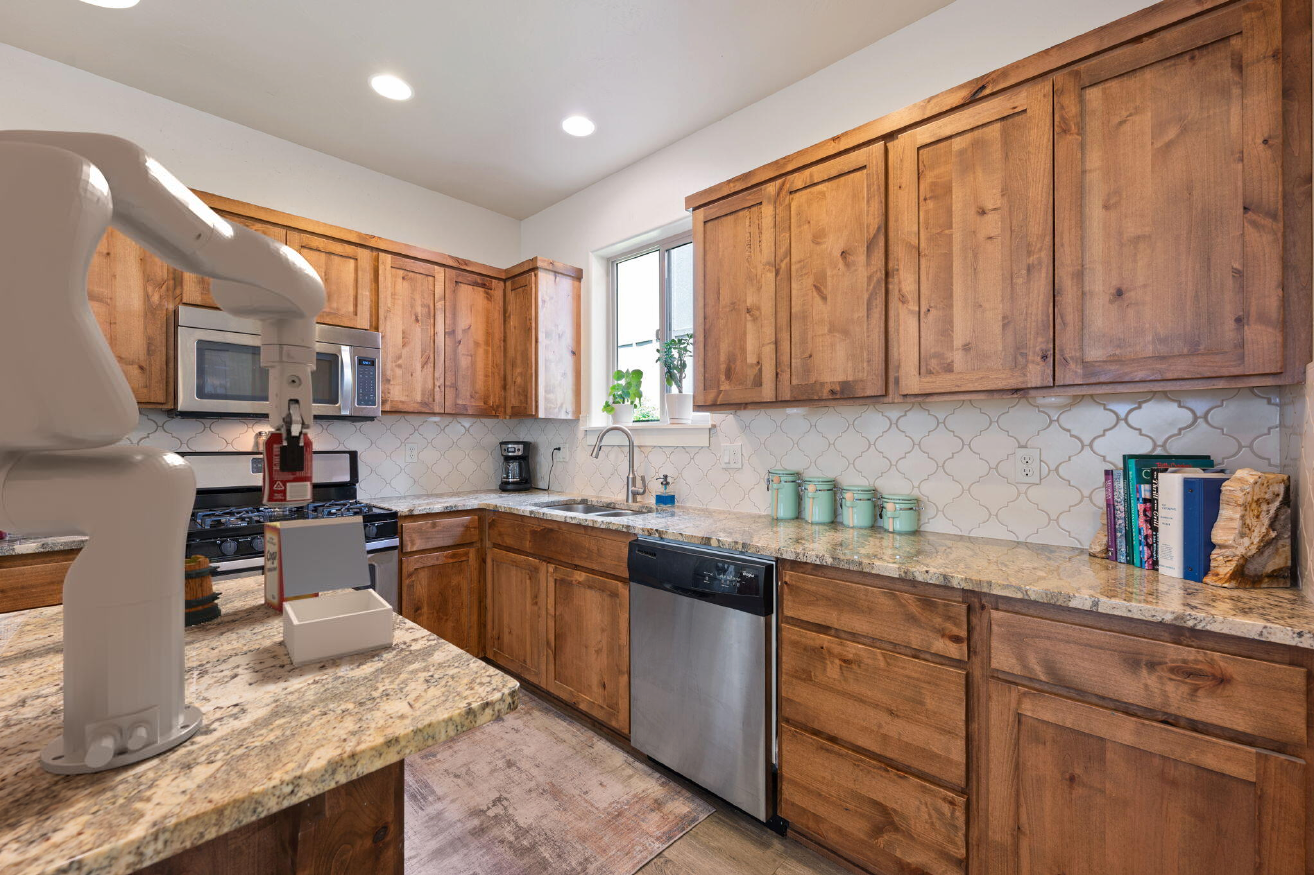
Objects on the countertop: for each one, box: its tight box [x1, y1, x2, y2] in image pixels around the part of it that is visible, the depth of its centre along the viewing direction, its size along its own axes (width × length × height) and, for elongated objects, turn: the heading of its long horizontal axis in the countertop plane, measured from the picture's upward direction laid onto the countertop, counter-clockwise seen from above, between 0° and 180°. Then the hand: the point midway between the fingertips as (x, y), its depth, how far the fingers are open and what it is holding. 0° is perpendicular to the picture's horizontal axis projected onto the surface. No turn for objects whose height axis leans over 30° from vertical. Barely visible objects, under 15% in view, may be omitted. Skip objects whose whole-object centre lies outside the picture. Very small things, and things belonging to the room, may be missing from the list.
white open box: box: [282, 588, 394, 668], centre depth 90 cm, size 14×13×6 cm
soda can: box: [261, 430, 314, 508], centre depth 92 cm, size 7×7×12 cm
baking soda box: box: [263, 519, 320, 614], centre depth 111 cm, size 10×6×16 cm
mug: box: [185, 554, 223, 628], centre depth 100 cm, size 13×10×12 cm
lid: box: [279, 515, 372, 598], centre depth 98 cm, size 13×13×1 cm
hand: (287, 469), depth 92 cm, fingers closed on soda can, 6 cm apart
